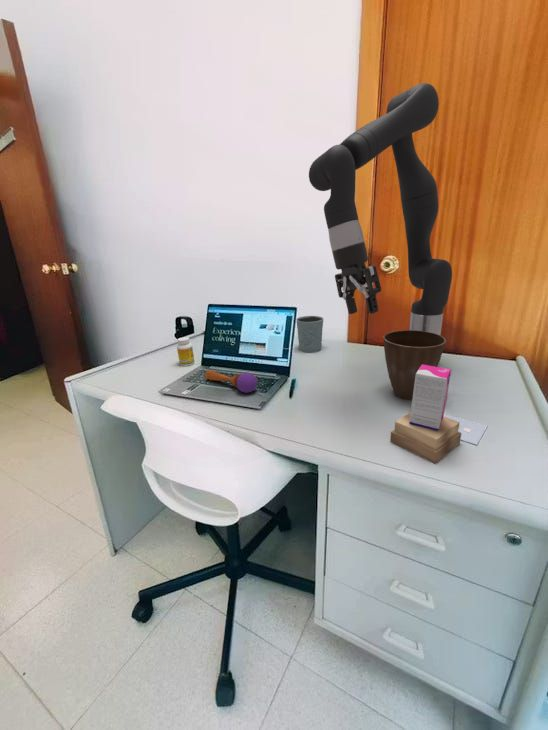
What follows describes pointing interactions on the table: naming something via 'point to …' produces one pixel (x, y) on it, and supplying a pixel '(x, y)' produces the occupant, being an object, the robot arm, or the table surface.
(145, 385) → the table surface
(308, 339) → the gray cup
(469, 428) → the page
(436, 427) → the supplement box
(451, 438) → the base block
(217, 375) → the kendama
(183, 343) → the supplement bottle
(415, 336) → the plant pot
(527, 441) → the table surface
